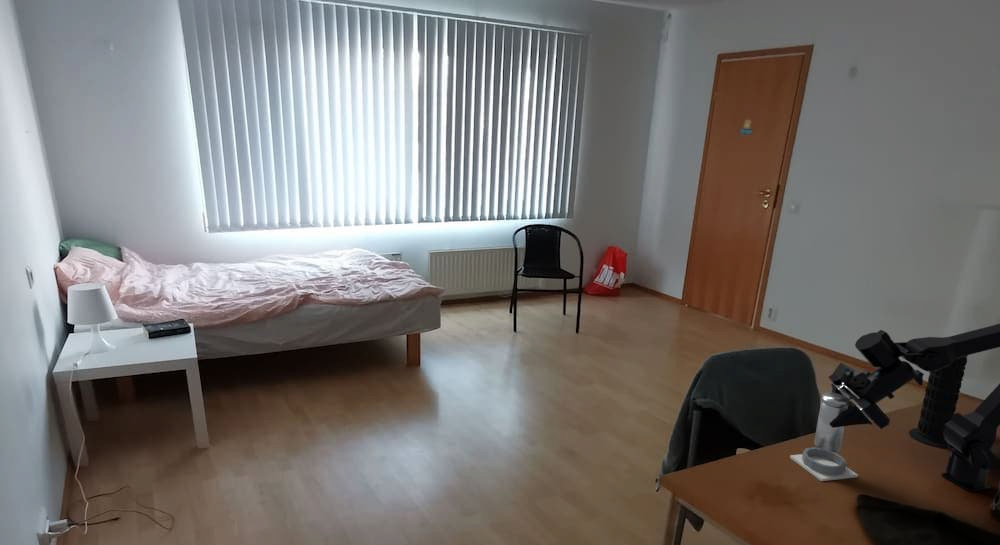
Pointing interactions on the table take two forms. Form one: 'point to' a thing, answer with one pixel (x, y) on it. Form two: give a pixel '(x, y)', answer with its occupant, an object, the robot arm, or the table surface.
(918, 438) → the handle grip
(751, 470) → the table surface
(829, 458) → the flange collar
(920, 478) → the table surface
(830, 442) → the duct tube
